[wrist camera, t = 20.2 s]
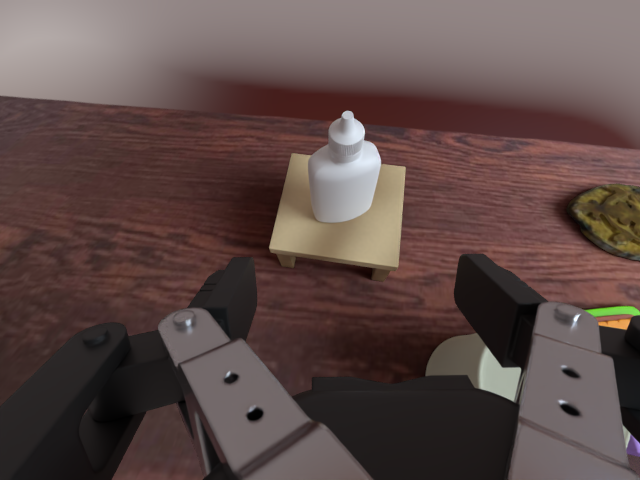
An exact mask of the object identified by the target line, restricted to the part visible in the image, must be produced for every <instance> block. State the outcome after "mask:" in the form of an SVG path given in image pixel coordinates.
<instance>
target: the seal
mask: <svg viewBox="0 0 640 480" xmlns="http://www.w3.org/2000/svg"><path fill="white" fill-rule="evenodd" d="M566 211H567V212H568V214H569V215H570V216H571V217H573V219H574V220H575V222H576V223H578V224H579V225H580V227H581V232H582V233H583V234H584V235H585V236H586V237H587V238H588V239H589V240H591V241H592V242H593V243H595V244H596V245H597V246H598V247H600V248H602V249H604V250H606V251H607V252H609V253H611V254H614V255H616V256H620V257H624V258H627V259H631V260H639V261H640V187H637V186H631V185H622V184H608V185H603V186H599V187H595V188H592V189H590V190H588V191H586V192H584V193H582V194H580V195H578V196H577V197H575V198H574V199H573V200H571V202H570V203H569V204H568V207H567V210H566Z"/></svg>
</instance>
